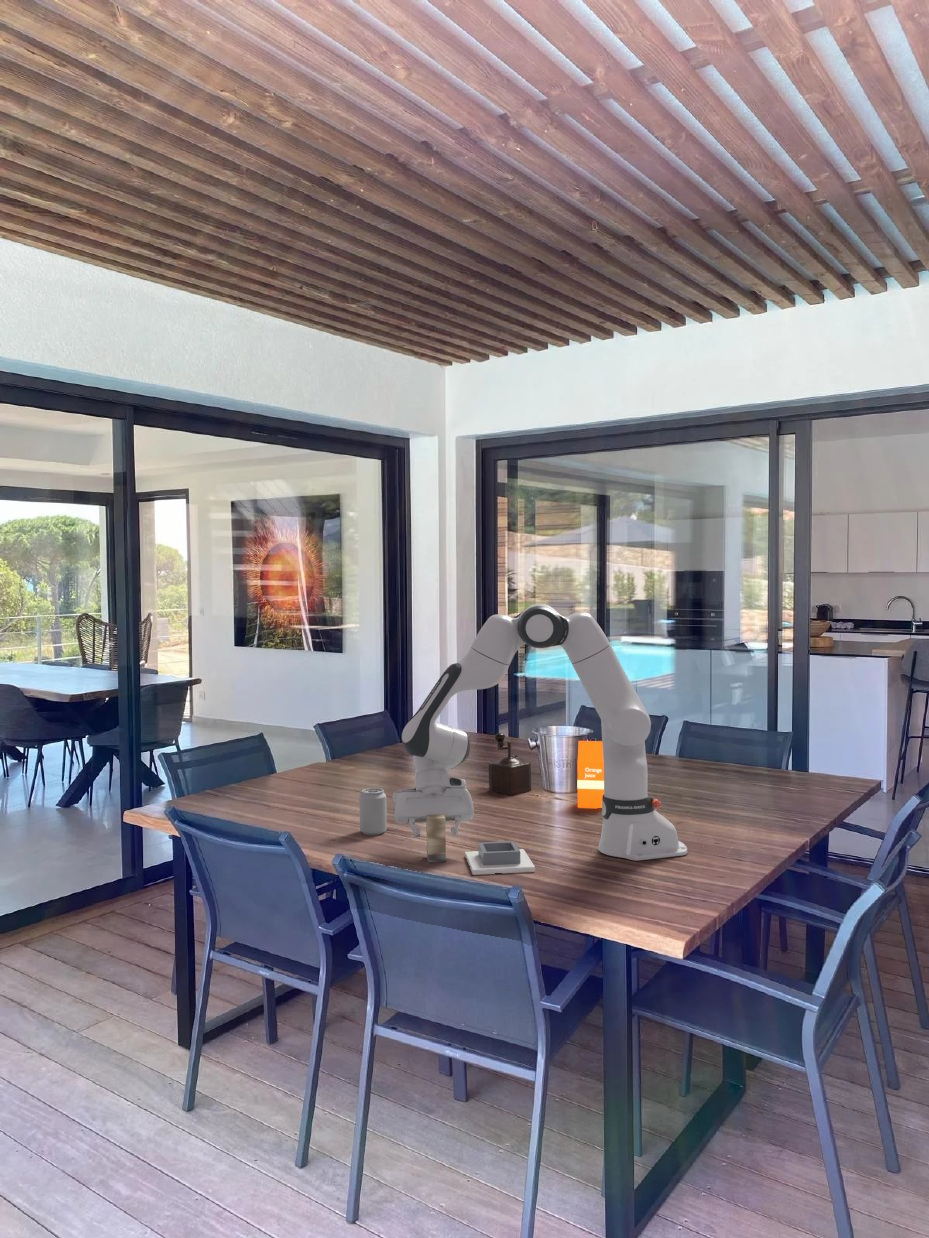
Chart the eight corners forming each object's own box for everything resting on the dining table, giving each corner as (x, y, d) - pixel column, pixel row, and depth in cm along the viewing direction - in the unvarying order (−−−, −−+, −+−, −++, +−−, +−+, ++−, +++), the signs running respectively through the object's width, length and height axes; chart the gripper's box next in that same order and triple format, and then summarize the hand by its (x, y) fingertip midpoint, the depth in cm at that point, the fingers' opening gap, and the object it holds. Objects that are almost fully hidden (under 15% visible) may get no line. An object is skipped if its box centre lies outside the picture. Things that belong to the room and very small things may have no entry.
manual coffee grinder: (533, 790, 307) (533, 736, 306) (510, 796, 300) (510, 740, 299) (500, 783, 318) (500, 731, 318) (477, 788, 311) (476, 735, 310)
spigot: (444, 856, 234) (443, 813, 234) (445, 861, 230) (445, 818, 230) (426, 857, 234) (426, 814, 233) (428, 862, 230) (427, 818, 229)
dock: (523, 853, 236) (523, 837, 236) (535, 871, 221) (534, 854, 221) (465, 856, 234) (465, 839, 234) (472, 874, 220) (472, 857, 219)
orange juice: (606, 808, 281) (606, 743, 281) (577, 807, 283) (577, 742, 282) (607, 802, 289) (607, 739, 288) (579, 801, 291) (579, 738, 290)
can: (387, 828, 262) (386, 786, 261) (386, 835, 254) (385, 792, 254) (361, 829, 262) (360, 787, 261) (359, 836, 254) (358, 793, 254)
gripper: (392, 782, 237) (394, 830, 228) (471, 779, 240) (476, 827, 230) (391, 796, 242) (394, 843, 232) (469, 793, 244) (474, 839, 235)
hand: (435, 835), depth 231 cm, fingers open, 8 cm apart
